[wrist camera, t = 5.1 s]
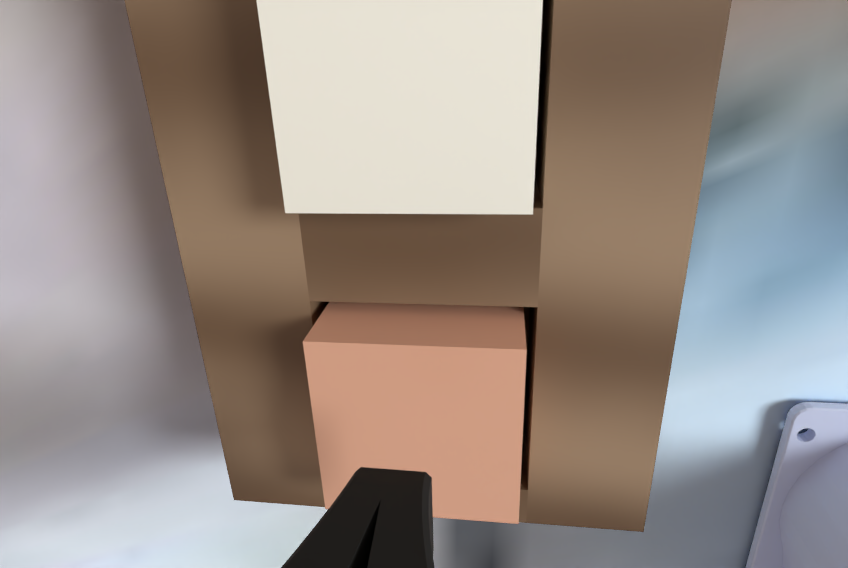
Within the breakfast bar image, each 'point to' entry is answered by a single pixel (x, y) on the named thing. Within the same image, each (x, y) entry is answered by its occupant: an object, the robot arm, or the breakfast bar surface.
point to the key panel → (452, 244)
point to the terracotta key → (422, 400)
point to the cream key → (404, 104)
